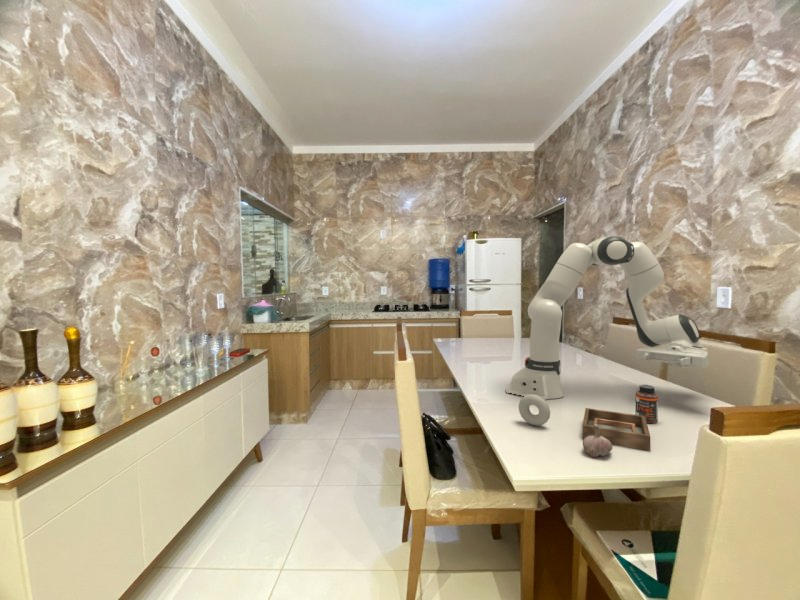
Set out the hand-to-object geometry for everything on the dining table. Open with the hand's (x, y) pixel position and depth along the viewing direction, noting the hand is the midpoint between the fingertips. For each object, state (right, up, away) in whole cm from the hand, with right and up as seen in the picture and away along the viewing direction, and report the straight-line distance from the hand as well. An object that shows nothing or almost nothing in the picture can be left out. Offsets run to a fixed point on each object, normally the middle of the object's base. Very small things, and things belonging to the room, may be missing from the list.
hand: (662, 359), depth 118 cm
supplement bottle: (-10, -19, -6) cm, 22 cm away
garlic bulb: (-37, -21, -26) cm, 50 cm away
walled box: (-26, -19, -15) cm, 36 cm away
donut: (-47, -20, -7) cm, 51 cm away
